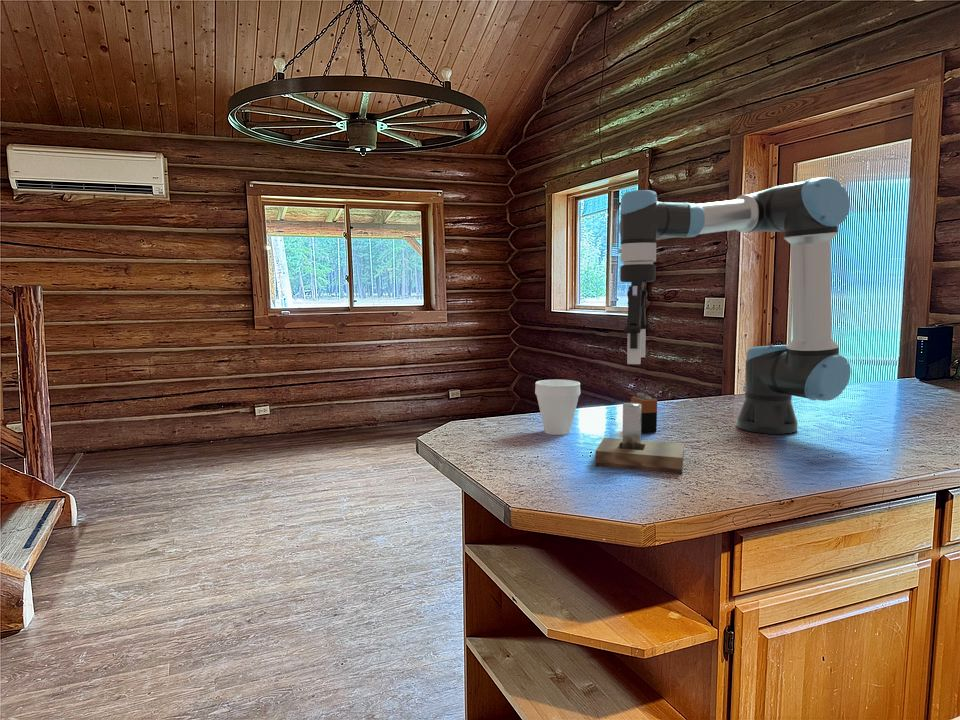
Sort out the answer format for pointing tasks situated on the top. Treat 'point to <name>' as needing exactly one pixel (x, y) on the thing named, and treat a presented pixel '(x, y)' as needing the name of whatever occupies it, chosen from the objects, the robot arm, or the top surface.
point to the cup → (557, 404)
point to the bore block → (641, 456)
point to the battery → (647, 412)
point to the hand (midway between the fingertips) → (636, 360)
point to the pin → (631, 426)
